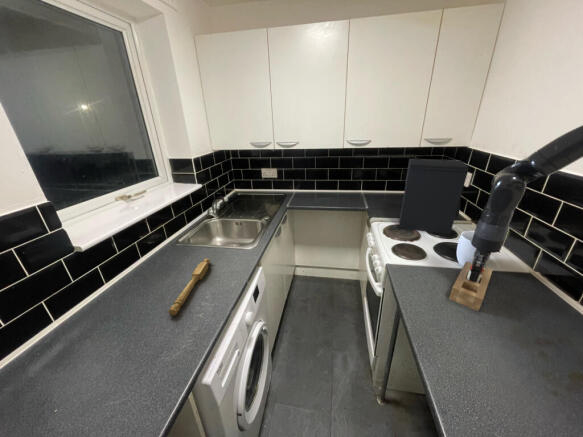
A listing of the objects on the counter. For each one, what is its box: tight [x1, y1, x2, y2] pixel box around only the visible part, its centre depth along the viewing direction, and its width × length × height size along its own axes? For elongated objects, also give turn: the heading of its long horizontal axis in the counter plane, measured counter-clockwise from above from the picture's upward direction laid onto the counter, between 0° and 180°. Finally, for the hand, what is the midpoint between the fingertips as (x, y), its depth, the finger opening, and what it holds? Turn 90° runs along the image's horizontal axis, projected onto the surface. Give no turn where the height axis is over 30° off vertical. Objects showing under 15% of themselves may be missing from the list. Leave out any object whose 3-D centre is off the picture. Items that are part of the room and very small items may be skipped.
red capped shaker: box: [467, 265, 484, 283], centre depth 80 cm, size 3×3×9 cm
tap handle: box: [167, 258, 211, 316], centre depth 89 cm, size 3×3×30 cm
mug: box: [456, 230, 493, 267], centre depth 93 cm, size 15×11×13 cm
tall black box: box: [398, 157, 469, 236], centre depth 122 cm, size 28×20×35 cm
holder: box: [448, 261, 493, 312], centre depth 81 cm, size 8×20×5 cm, turn 135°
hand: (473, 277), depth 80 cm, fingers closed on red capped shaker, 3 cm apart
